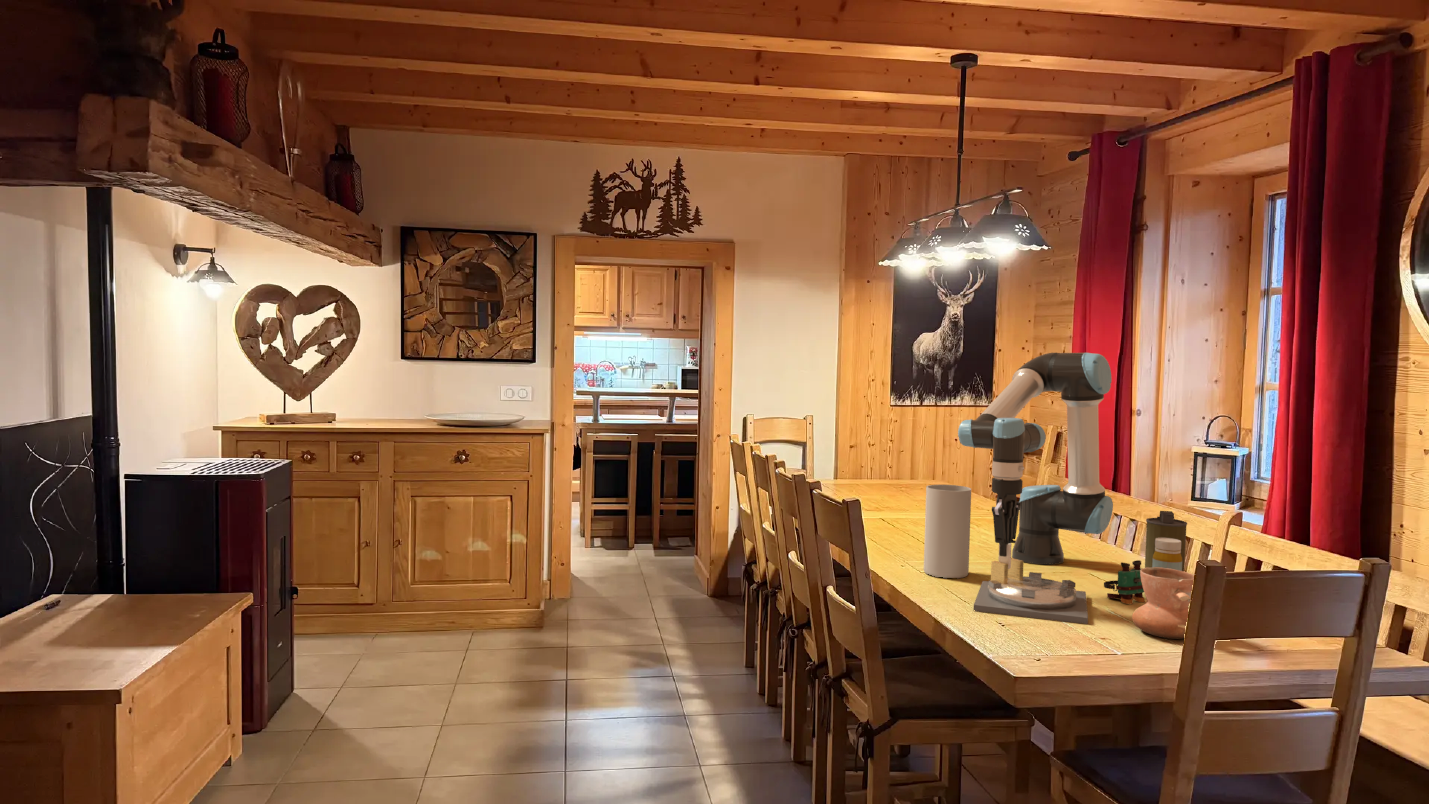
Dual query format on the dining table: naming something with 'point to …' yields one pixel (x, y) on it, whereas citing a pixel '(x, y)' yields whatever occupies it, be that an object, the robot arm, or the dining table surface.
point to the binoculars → (1127, 584)
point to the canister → (1164, 534)
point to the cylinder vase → (947, 531)
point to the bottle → (1167, 553)
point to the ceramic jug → (1164, 602)
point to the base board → (1067, 615)
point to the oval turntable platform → (1029, 588)
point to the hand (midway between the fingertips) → (1004, 567)
